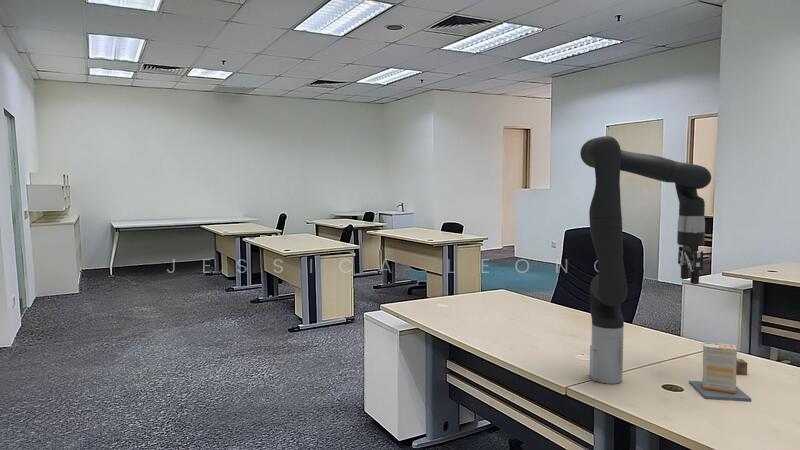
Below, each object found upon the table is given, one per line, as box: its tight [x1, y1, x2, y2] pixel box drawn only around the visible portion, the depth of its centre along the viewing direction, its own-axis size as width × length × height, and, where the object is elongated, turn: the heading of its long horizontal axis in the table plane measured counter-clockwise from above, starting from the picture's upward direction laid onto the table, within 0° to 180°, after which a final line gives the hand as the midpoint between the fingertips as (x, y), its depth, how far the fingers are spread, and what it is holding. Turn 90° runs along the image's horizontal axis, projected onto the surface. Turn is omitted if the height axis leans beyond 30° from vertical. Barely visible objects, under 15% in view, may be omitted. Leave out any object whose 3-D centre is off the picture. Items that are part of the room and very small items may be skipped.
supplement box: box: [702, 341, 738, 393], centre depth 153 cm, size 8×5×13 cm, turn 62°
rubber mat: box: [688, 380, 752, 402], centre depth 153 cm, size 12×12×1 cm
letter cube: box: [736, 358, 748, 376], centre depth 168 cm, size 4×4×4 cm
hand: (689, 281), depth 165 cm, fingers open, 8 cm apart
